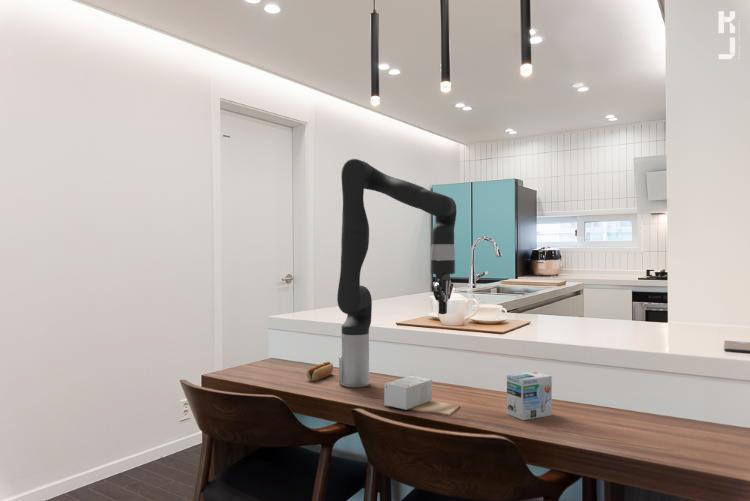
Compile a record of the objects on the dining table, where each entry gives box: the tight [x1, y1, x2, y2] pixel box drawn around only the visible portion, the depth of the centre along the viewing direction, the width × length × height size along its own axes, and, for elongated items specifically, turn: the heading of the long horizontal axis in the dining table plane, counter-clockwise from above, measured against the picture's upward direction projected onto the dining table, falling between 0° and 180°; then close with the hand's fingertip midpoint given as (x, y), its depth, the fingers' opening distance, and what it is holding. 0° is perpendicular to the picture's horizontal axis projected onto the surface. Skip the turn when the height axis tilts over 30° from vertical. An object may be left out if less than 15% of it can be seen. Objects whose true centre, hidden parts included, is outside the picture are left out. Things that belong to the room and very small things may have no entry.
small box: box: [383, 375, 433, 411], centre depth 155 cm, size 8×6×13 cm
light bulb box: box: [506, 371, 553, 421], centre depth 145 cm, size 11×7×11 cm, turn 117°
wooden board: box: [383, 400, 461, 416], centre depth 153 cm, size 20×9×1 cm, turn 62°
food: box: [306, 361, 334, 382], centre depth 189 cm, size 14×6×5 cm, turn 157°
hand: (442, 313), depth 167 cm, fingers closed
